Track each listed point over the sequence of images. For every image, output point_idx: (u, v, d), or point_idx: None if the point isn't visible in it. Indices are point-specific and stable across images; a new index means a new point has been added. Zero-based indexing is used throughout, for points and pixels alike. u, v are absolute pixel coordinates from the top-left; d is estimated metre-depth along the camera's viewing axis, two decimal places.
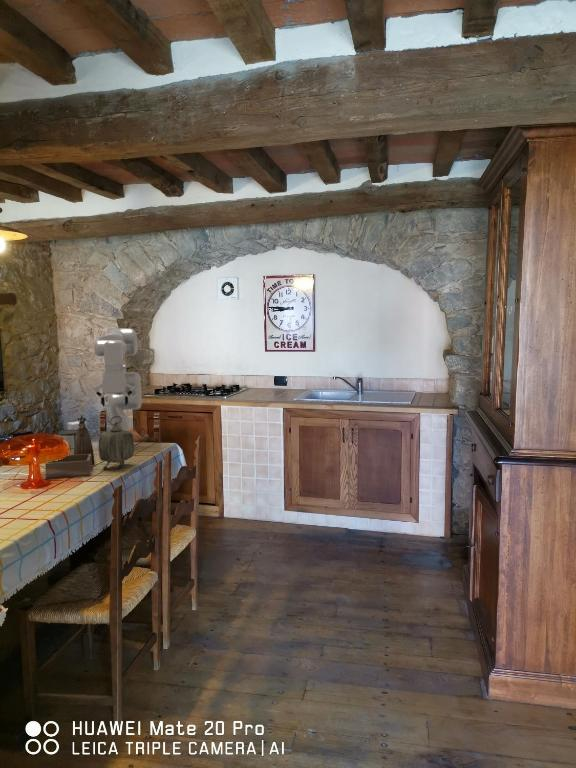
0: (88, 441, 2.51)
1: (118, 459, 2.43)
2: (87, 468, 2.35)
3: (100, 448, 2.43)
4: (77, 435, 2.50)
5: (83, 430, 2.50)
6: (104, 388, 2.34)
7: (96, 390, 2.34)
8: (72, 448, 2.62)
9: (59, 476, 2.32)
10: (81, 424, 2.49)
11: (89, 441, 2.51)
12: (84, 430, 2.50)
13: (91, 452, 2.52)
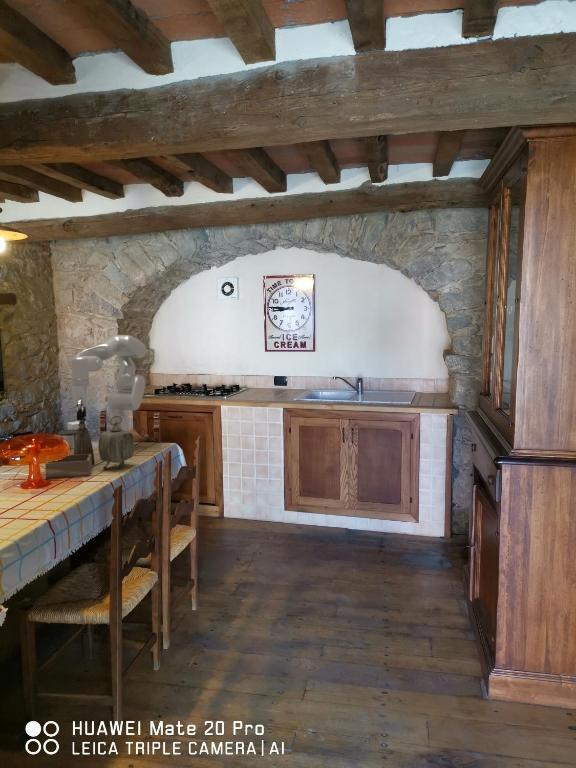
0: (88, 441, 2.51)
1: (118, 459, 2.43)
2: (87, 468, 2.35)
3: (100, 448, 2.43)
4: (77, 435, 2.50)
5: (83, 430, 2.50)
6: (84, 402, 2.46)
7: (80, 405, 2.42)
8: (72, 448, 2.62)
9: (59, 476, 2.32)
10: (81, 424, 2.49)
11: (89, 441, 2.51)
12: (84, 430, 2.50)
13: (91, 452, 2.52)
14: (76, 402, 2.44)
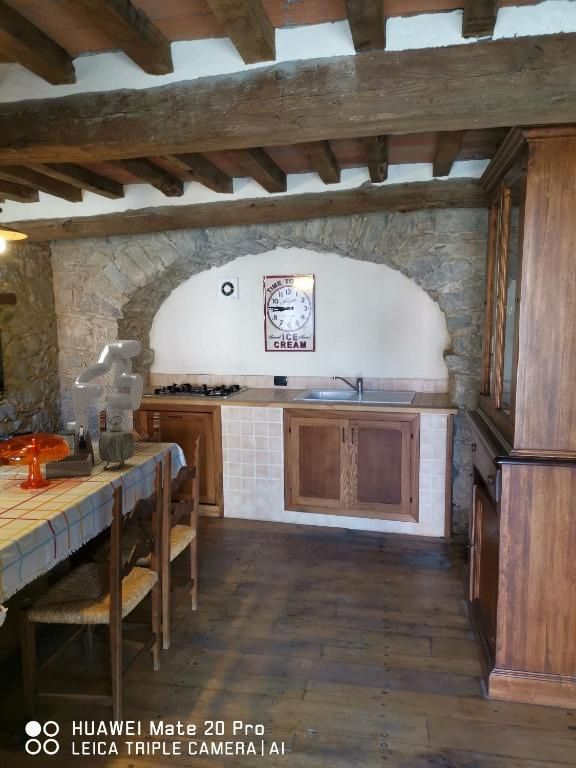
0: (88, 441, 2.51)
1: (118, 459, 2.43)
2: (87, 468, 2.35)
3: (100, 448, 2.43)
4: (77, 435, 2.50)
5: None
6: (86, 429, 2.48)
7: (82, 435, 2.46)
8: (72, 448, 2.62)
9: (59, 476, 2.32)
10: None
11: (89, 441, 2.51)
12: None
13: (91, 452, 2.52)
14: (78, 432, 2.46)
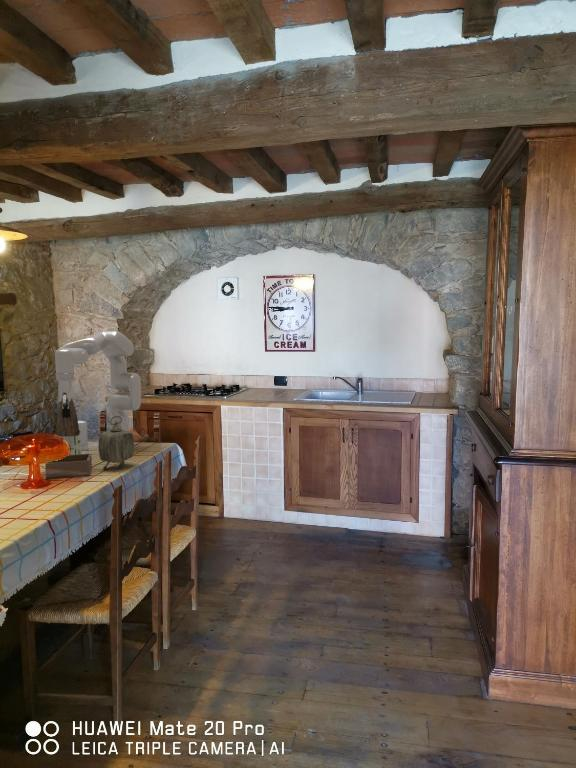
0: (72, 409, 2.35)
1: (118, 459, 2.43)
2: (87, 468, 2.35)
3: (100, 448, 2.43)
4: (60, 403, 2.34)
5: None
6: (70, 397, 2.32)
7: (66, 403, 2.30)
8: (72, 448, 2.62)
9: (59, 476, 2.32)
10: None
11: (73, 409, 2.36)
12: None
13: (75, 421, 2.36)
14: (61, 399, 2.31)
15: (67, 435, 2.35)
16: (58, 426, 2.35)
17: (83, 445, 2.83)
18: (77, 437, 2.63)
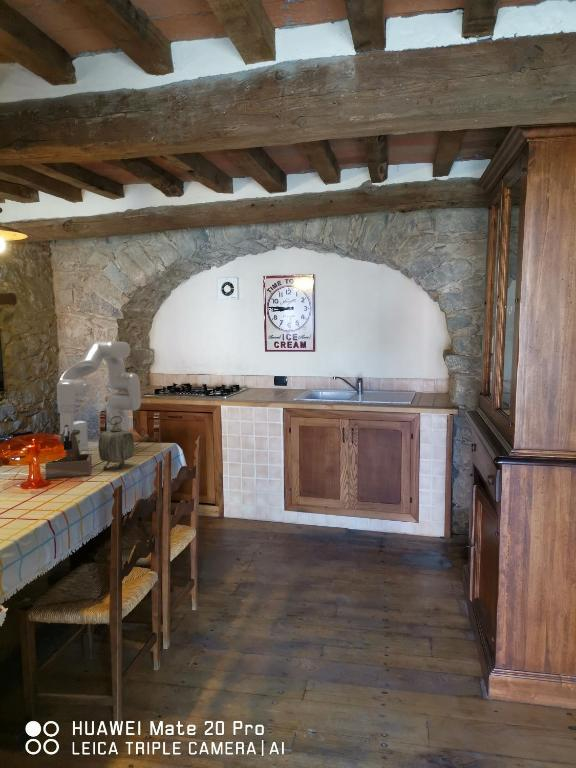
0: (73, 441, 2.37)
1: (118, 459, 2.43)
2: (87, 468, 2.35)
3: (100, 448, 2.43)
4: (62, 435, 2.36)
5: None
6: (71, 429, 2.34)
7: (67, 435, 2.32)
8: None
9: (59, 476, 2.32)
10: None
11: (75, 441, 2.37)
12: None
13: (77, 452, 2.38)
14: (63, 432, 2.32)
15: None
16: None
17: (83, 445, 2.83)
18: (77, 437, 2.63)
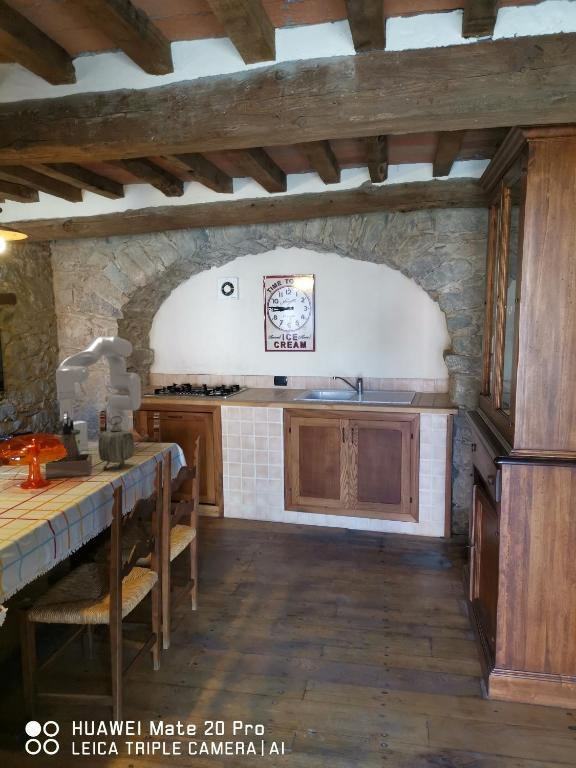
0: (74, 445, 2.37)
1: (118, 459, 2.43)
2: (87, 468, 2.35)
3: (100, 448, 2.43)
4: (62, 439, 2.36)
5: None
6: (71, 415, 2.33)
7: (66, 419, 2.30)
8: None
9: (59, 476, 2.32)
10: None
11: (75, 445, 2.38)
12: None
13: (77, 457, 2.38)
14: (62, 416, 2.31)
15: None
16: None
17: (83, 445, 2.83)
18: (77, 437, 2.63)
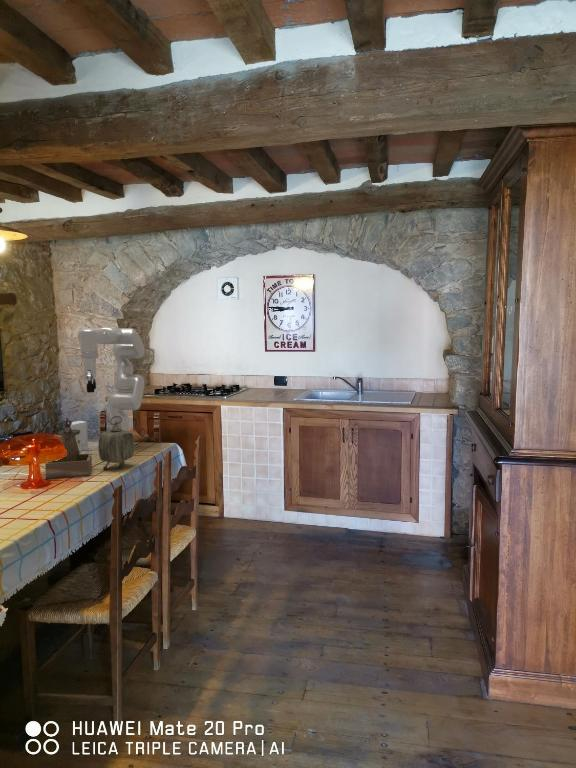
0: (74, 445, 2.37)
1: (118, 459, 2.43)
2: (87, 468, 2.35)
3: (100, 448, 2.43)
4: (62, 439, 2.36)
5: (69, 434, 2.36)
6: (94, 374, 2.46)
7: (90, 377, 2.42)
8: None
9: (59, 476, 2.32)
10: (67, 427, 2.35)
11: (75, 445, 2.38)
12: (70, 434, 2.37)
13: (77, 457, 2.38)
14: (86, 374, 2.44)
15: None
16: None
17: (83, 445, 2.83)
18: (77, 437, 2.63)
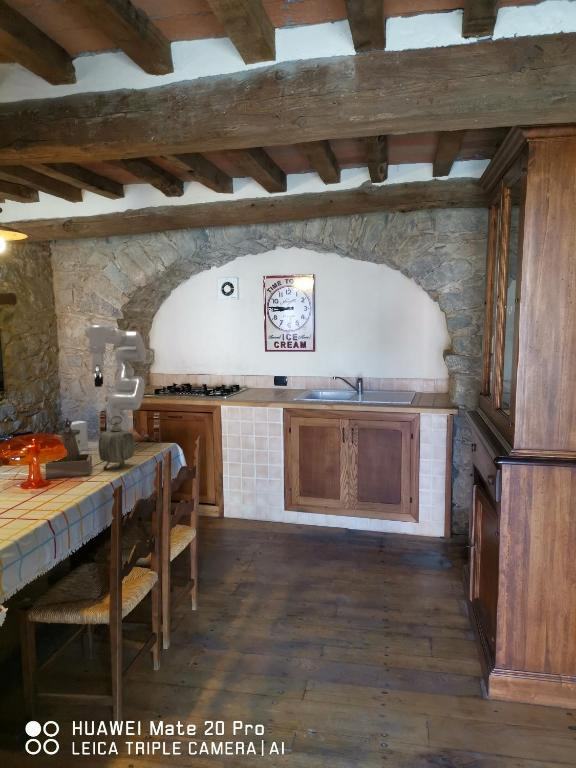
0: (74, 445, 2.37)
1: (118, 459, 2.43)
2: (87, 468, 2.35)
3: (100, 448, 2.43)
4: (62, 439, 2.36)
5: (69, 434, 2.36)
6: (102, 369, 2.51)
7: (98, 372, 2.47)
8: None
9: (59, 476, 2.32)
10: (67, 427, 2.35)
11: (75, 445, 2.38)
12: (70, 434, 2.37)
13: (77, 457, 2.38)
14: (94, 369, 2.49)
15: None
16: None
17: (83, 445, 2.83)
18: (77, 437, 2.63)
